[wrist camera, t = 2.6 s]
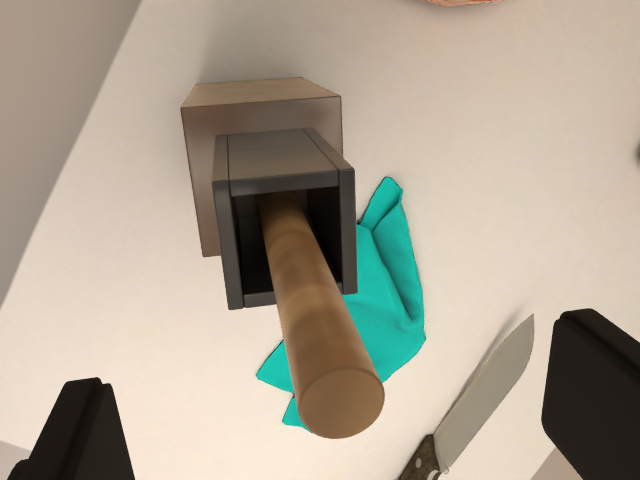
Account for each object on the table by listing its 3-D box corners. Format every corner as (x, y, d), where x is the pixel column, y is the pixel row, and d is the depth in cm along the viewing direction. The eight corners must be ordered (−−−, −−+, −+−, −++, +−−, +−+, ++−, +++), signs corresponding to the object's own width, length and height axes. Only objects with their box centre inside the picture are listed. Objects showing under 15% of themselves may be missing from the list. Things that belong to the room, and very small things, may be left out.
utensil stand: (209, 188, 41) (193, 350, 19) (195, 84, 38) (157, 141, 16) (308, 179, 42) (395, 322, 21) (302, 77, 39) (396, 121, 18)
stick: (254, 203, 27) (302, 458, 11) (249, 158, 26) (294, 361, 10) (288, 199, 27) (385, 443, 11) (284, 155, 26) (385, 347, 10)
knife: (400, 564, 54) (574, 350, 44) (379, 560, 53) (552, 342, 43) (386, 514, 59) (539, 312, 49) (367, 510, 58) (518, 304, 48)
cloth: (353, 445, 53) (358, 461, 51) (231, 406, 48) (232, 423, 46) (493, 232, 46) (506, 241, 44) (368, 165, 42) (376, 172, 40)
